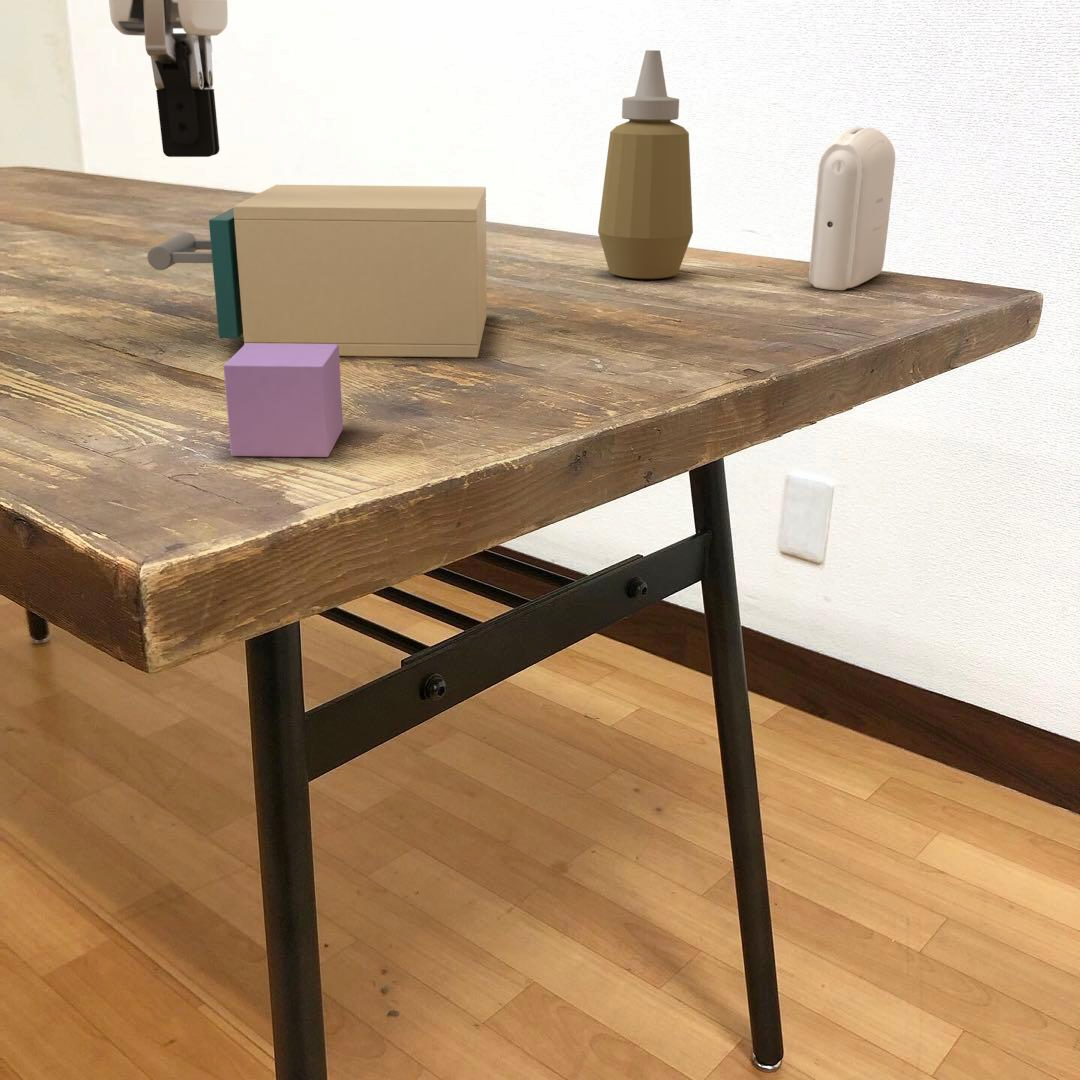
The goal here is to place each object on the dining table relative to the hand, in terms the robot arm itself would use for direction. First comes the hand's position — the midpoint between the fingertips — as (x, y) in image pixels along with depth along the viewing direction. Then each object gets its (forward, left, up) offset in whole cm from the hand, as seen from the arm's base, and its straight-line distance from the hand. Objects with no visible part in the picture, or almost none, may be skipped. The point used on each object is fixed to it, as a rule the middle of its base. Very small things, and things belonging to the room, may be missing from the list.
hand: (192, 155), depth 79 cm
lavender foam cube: (+10, -25, -12) cm, 29 cm away
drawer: (+7, 0, -11) cm, 12 cm away
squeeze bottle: (+31, +25, -12) cm, 42 cm away
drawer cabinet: (+11, 0, -12) cm, 16 cm away
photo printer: (+48, +23, -12) cm, 55 cm away
